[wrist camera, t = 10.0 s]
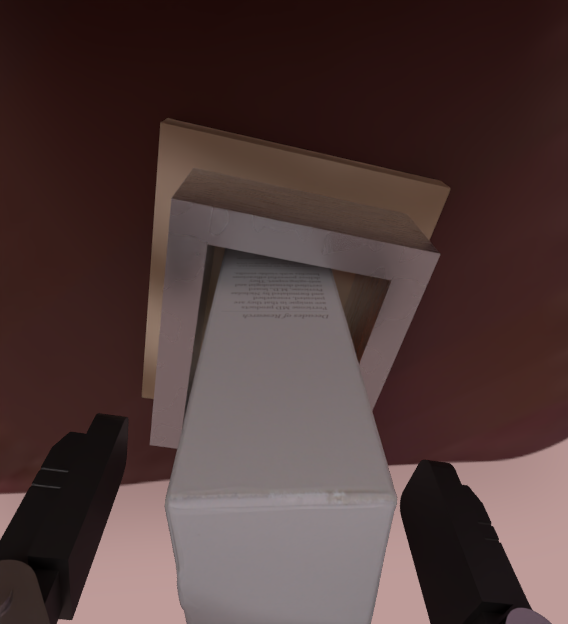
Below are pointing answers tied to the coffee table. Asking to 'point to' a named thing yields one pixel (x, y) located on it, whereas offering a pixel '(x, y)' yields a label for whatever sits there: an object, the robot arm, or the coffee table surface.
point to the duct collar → (289, 246)
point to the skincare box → (278, 458)
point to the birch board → (276, 171)
